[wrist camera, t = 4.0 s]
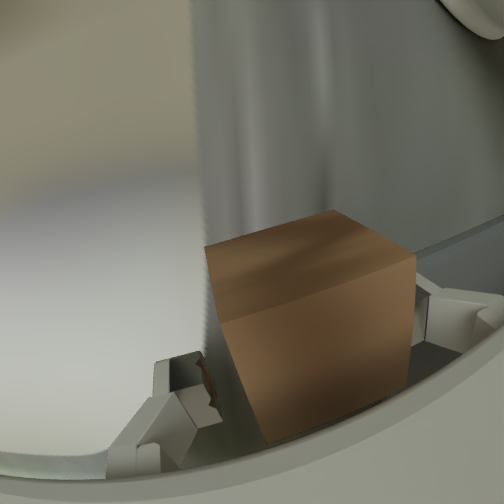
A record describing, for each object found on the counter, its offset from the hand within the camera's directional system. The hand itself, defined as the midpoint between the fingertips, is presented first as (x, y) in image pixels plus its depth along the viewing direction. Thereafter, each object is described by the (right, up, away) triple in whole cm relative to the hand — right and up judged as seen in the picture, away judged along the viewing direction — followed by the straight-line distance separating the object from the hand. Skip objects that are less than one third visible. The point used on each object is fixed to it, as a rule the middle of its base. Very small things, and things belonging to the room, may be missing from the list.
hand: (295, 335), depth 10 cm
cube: (0, +1, +2) cm, 3 cm away
